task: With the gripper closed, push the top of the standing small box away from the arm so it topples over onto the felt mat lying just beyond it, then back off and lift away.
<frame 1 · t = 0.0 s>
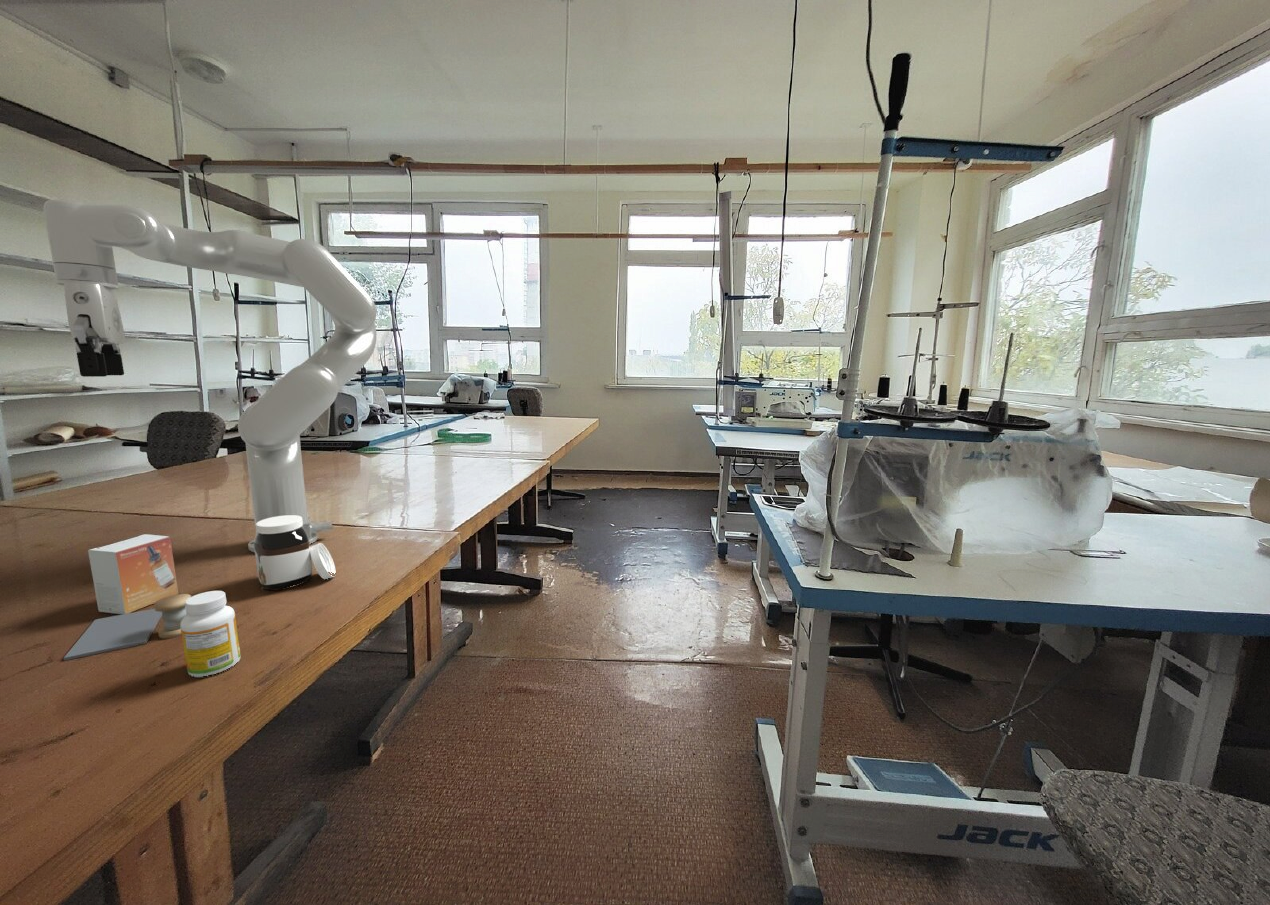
hand: (103, 375, 91), 37 cm above the table, tool pointing down, fingers open, 9 cm apart
felt mat: (119, 632, 74), on the table
thread spool: (177, 631, 74), on the table
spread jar: (299, 581, 92), on the table
supplement bottle: (215, 667, 66), on the table
small box: (140, 604, 83), on the table
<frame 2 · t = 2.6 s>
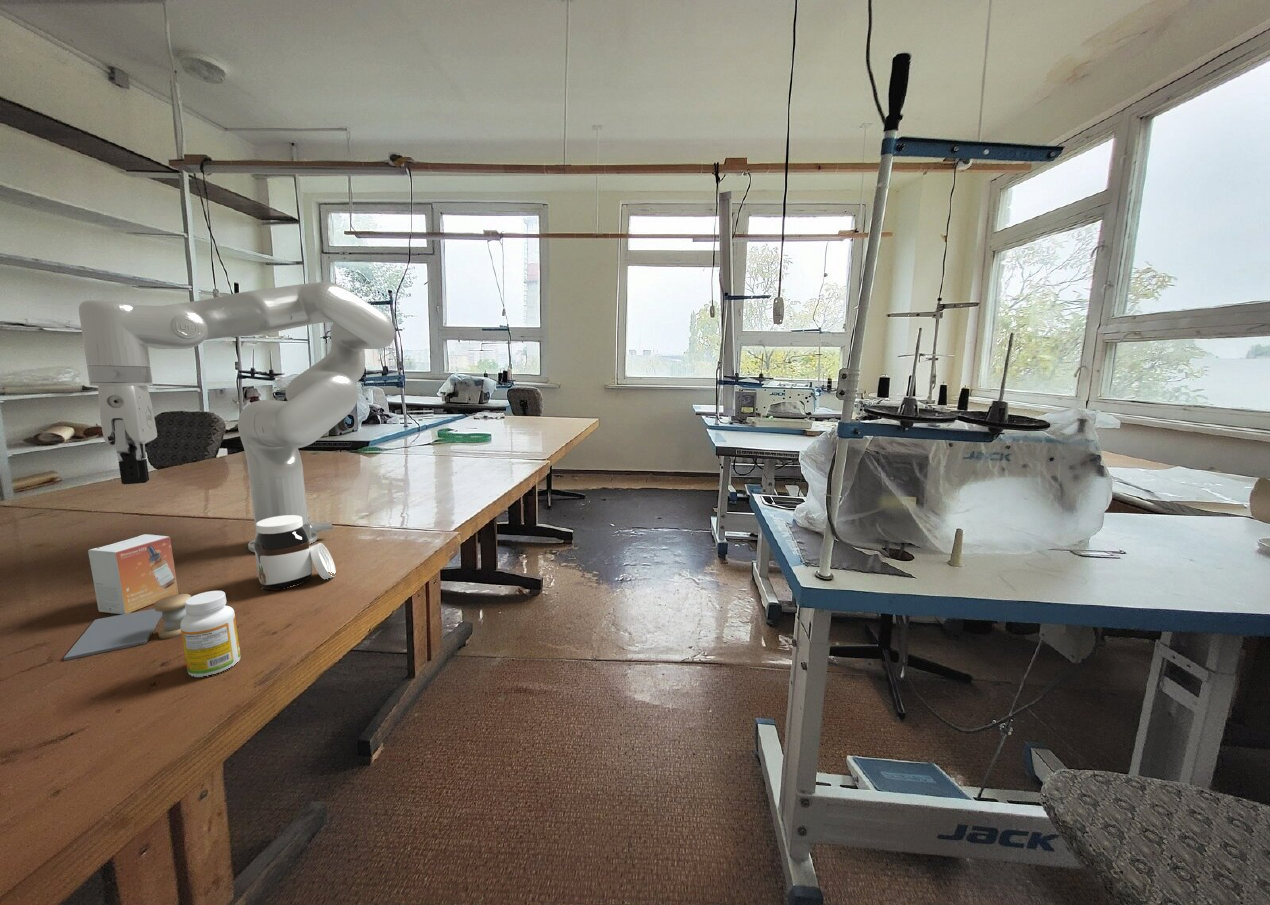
hand: (135, 482, 87), 18 cm above the table, tool pointing down, fingers closed
nothing on the table moved.
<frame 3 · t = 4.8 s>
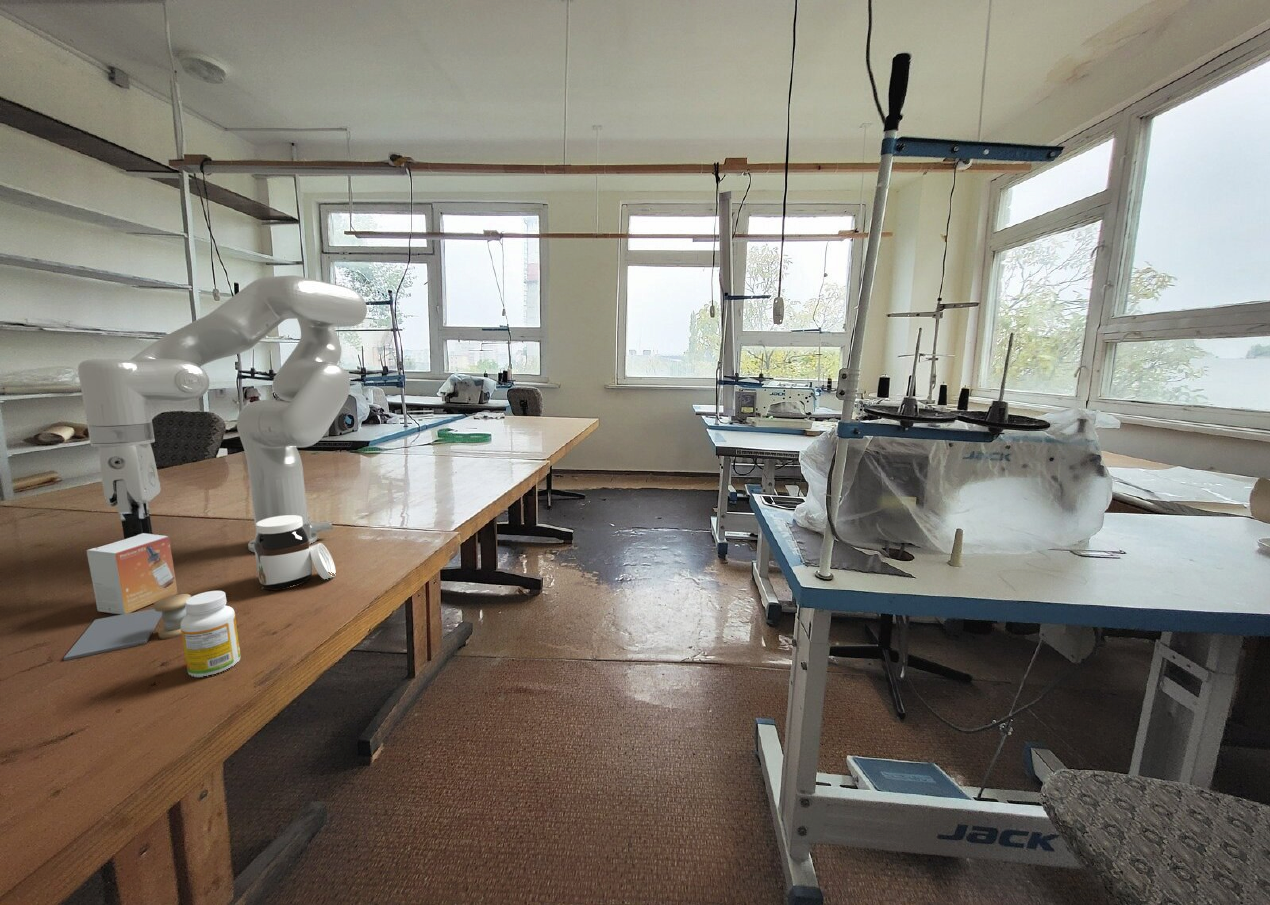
hand: (139, 540, 86), 9 cm above the table, tool pointing down, fingers closed
small box: (139, 603, 83), on the table, touching gripper
everything else where it was.
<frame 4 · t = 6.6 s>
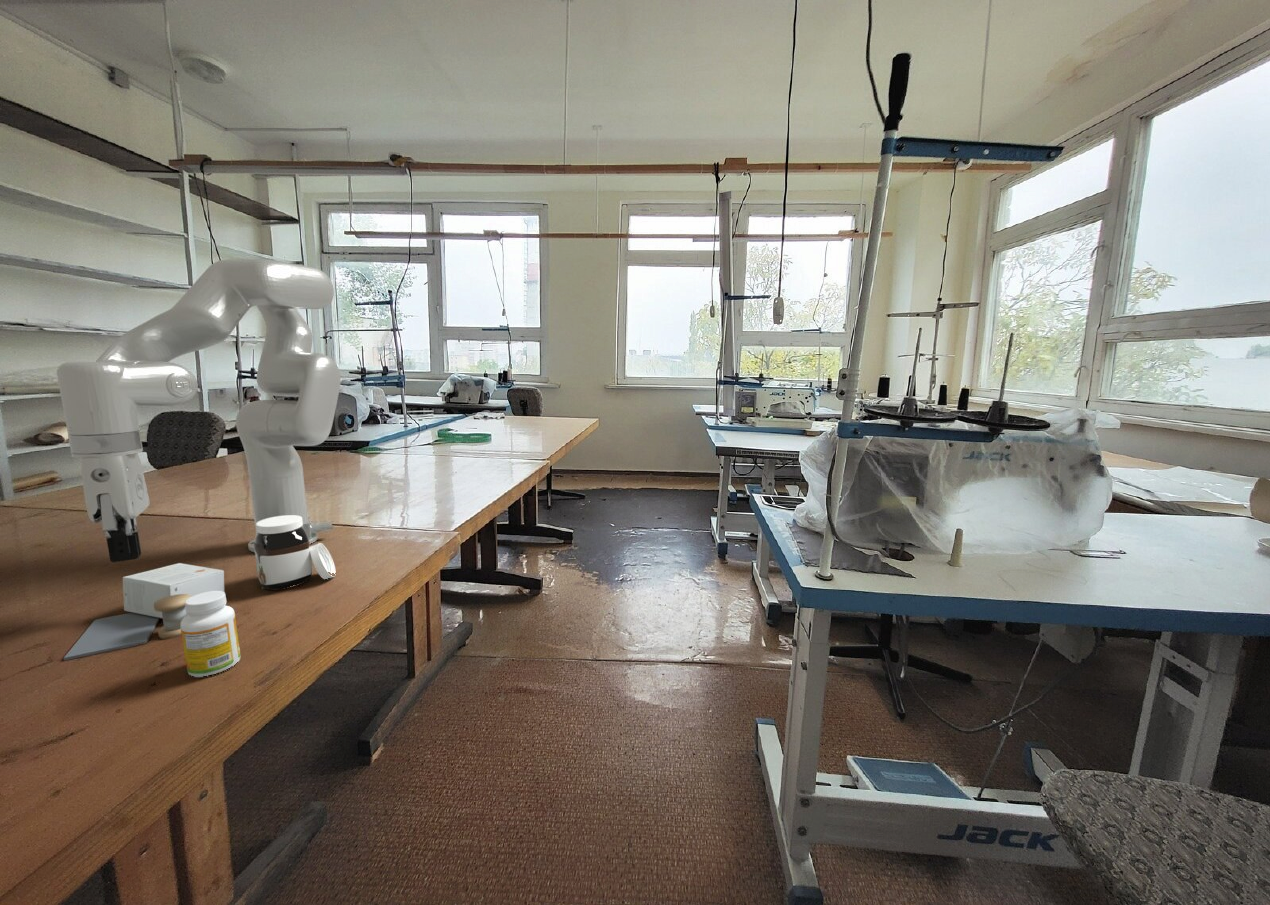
hand: (126, 558, 79), 9 cm above the table, tool pointing down, fingers closed
small box: (151, 585, 82), point 3 cm above the table, touching felt mat
everything else where it was.
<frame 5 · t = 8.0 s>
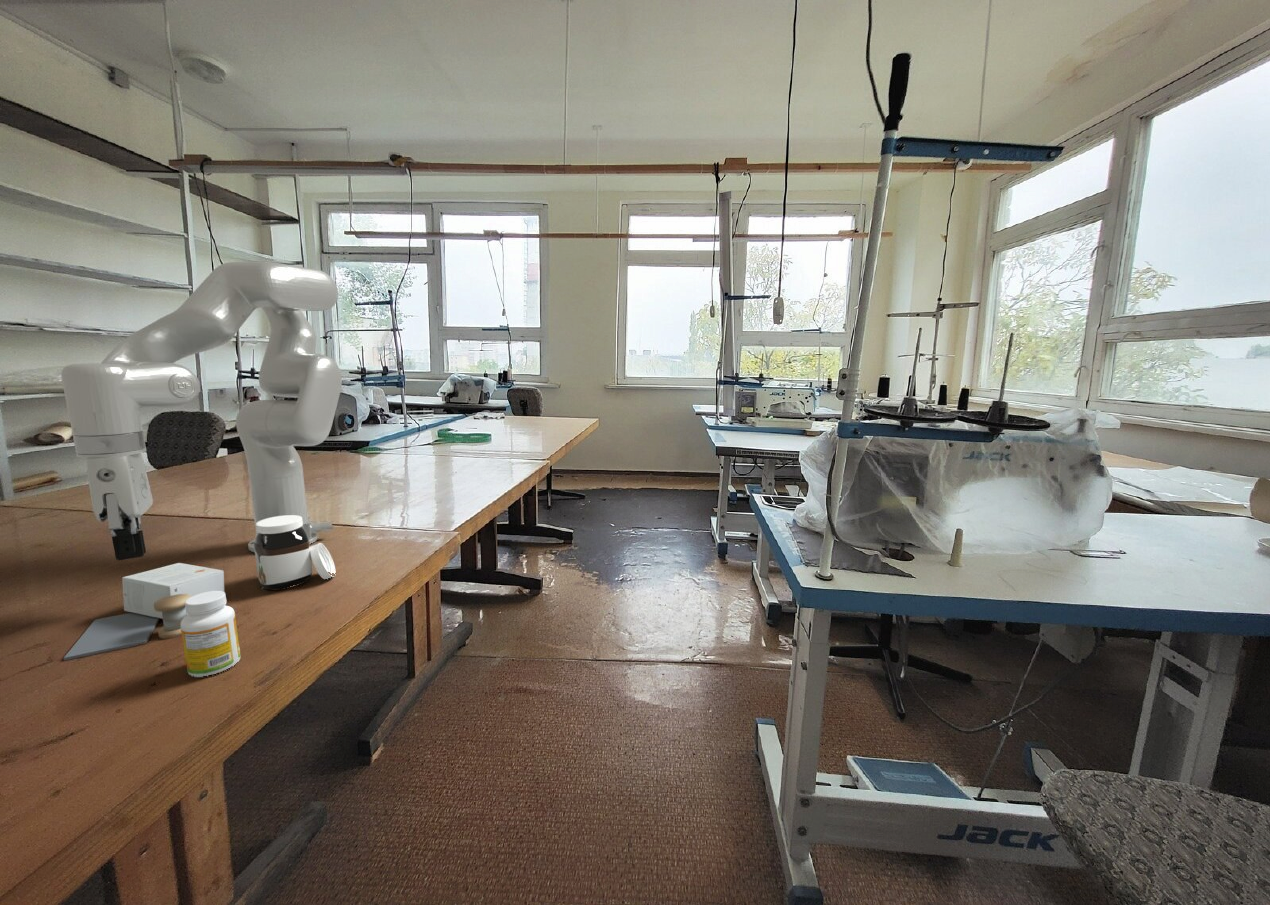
hand: (131, 556, 80), 8 cm above the table, tool pointing down, fingers closed
nothing on the table moved.
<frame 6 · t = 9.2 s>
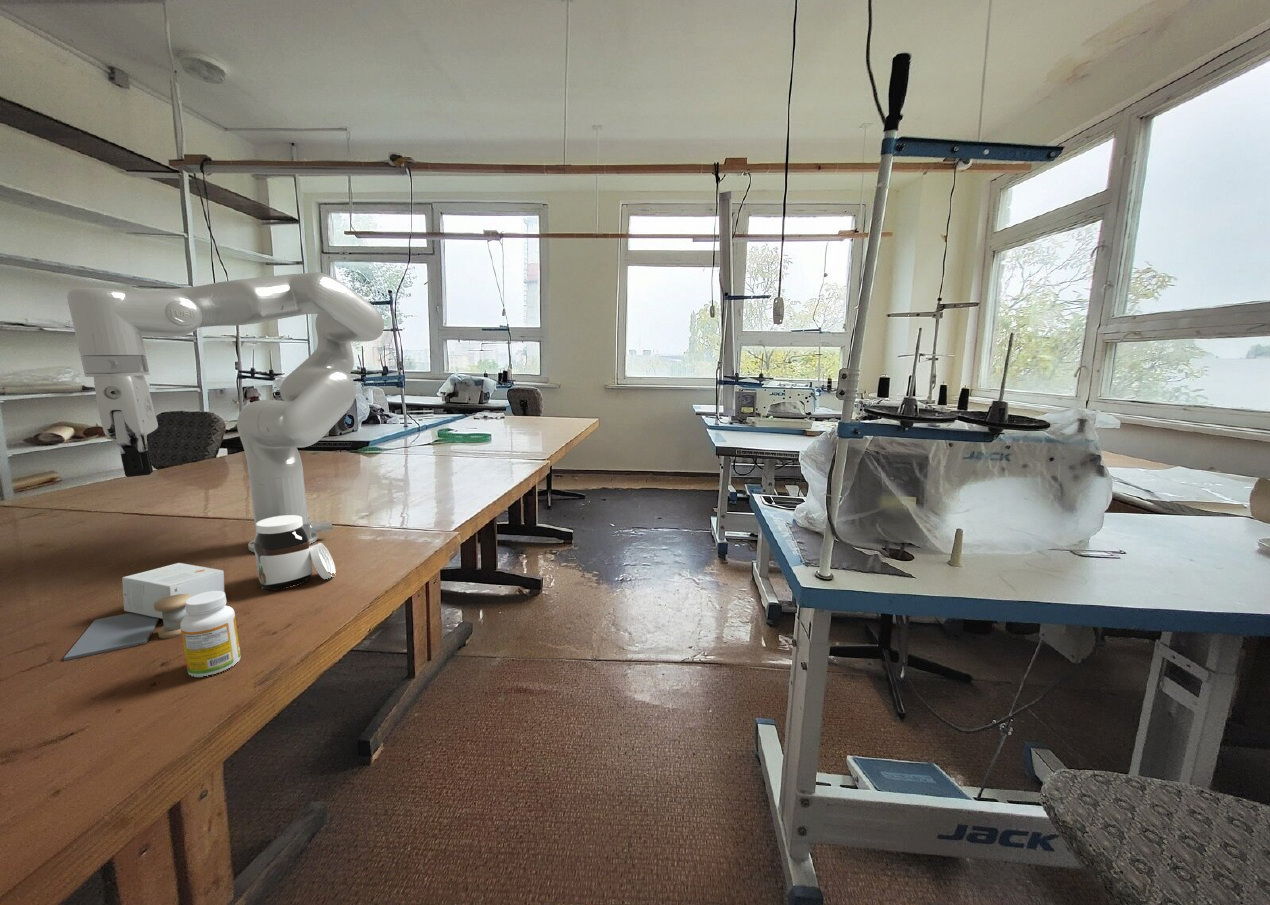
hand: (139, 474, 86), 20 cm above the table, tool pointing down, fingers closed
nothing on the table moved.
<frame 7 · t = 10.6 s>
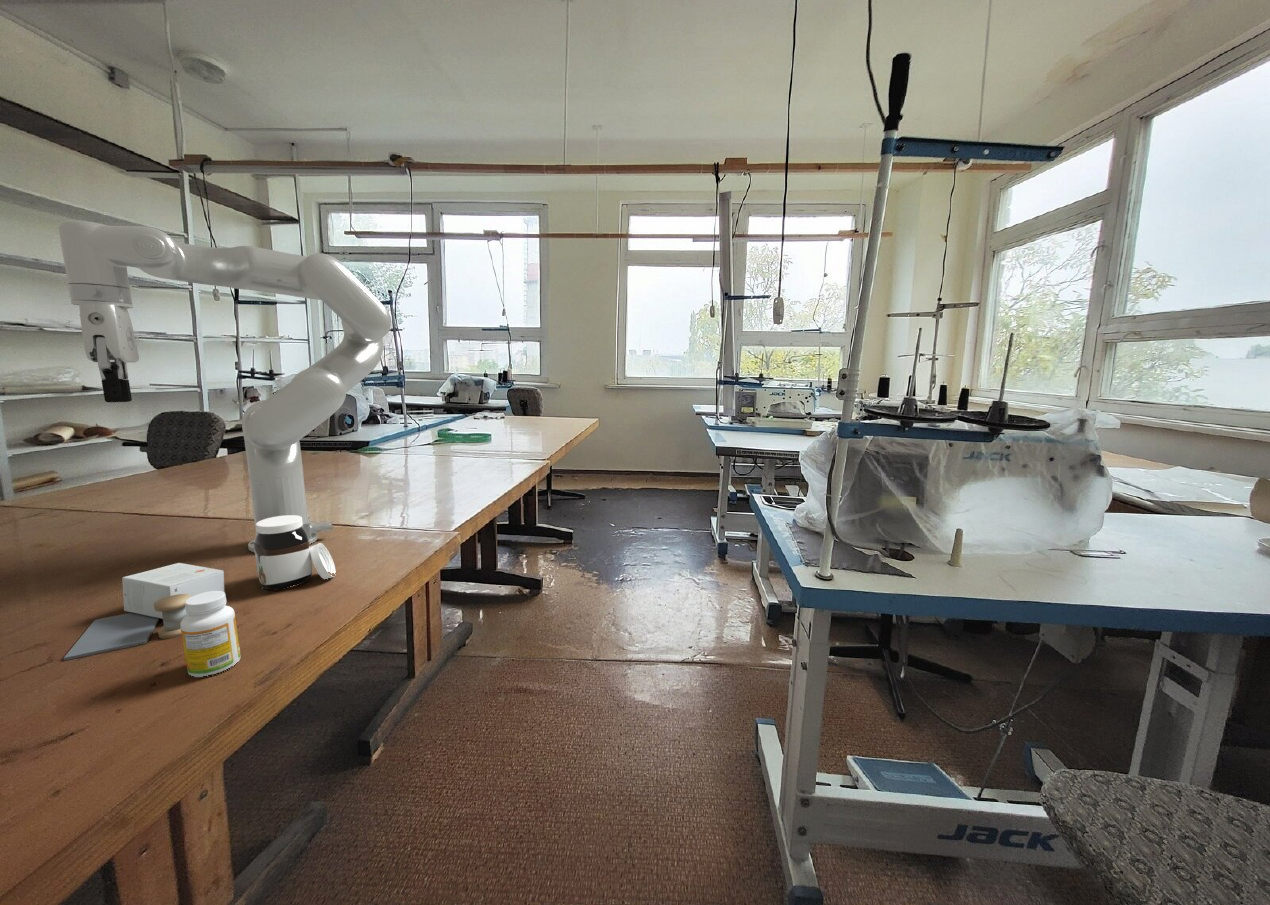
hand: (118, 401, 91), 32 cm above the table, tool pointing down, fingers closed
nothing on the table moved.
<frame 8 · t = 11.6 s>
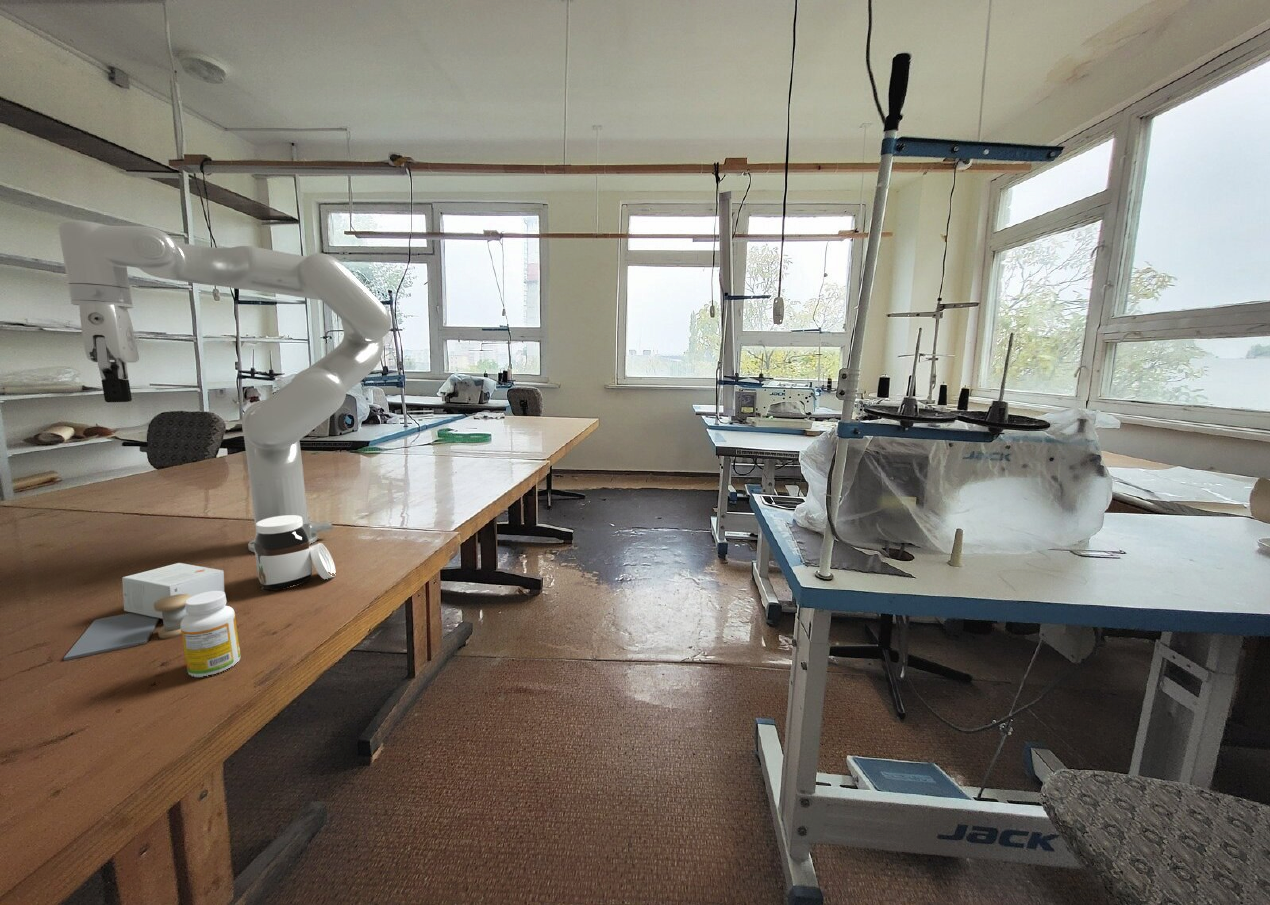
hand: (118, 401, 91), 32 cm above the table, tool pointing down, fingers closed
nothing on the table moved.
at the end: small box tilted 91°; small box inside the target area (9.8 cm from its centre), point 3.2 cm above the table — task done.
